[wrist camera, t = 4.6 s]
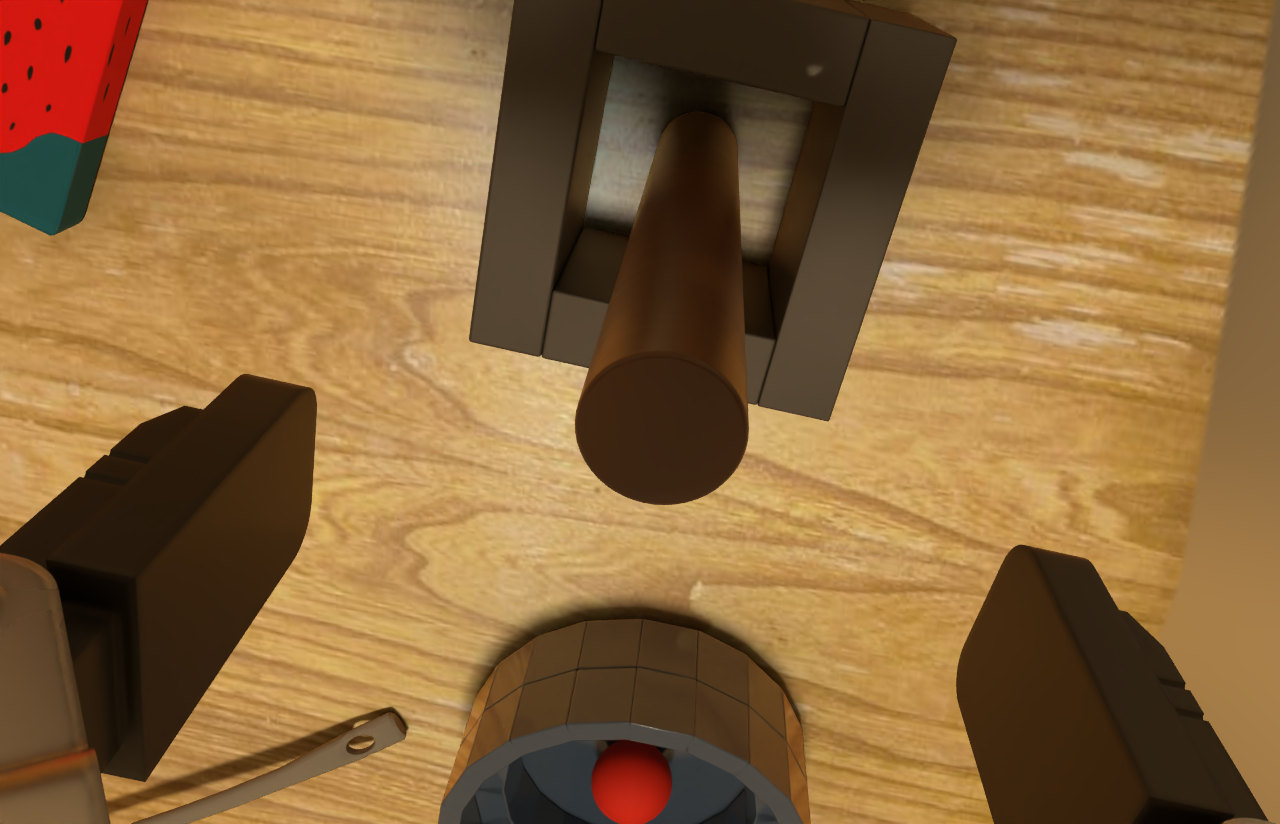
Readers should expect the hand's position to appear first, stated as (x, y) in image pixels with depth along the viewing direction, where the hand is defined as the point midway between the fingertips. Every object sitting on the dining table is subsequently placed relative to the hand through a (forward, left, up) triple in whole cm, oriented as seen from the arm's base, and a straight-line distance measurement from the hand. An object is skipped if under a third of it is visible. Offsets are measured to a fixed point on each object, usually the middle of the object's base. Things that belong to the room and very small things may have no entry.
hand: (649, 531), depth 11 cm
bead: (-3, +24, -18) cm, 30 cm away
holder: (0, 0, -21) cm, 21 cm away
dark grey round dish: (-3, +24, -21) cm, 32 cm away
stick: (0, 0, -21) cm, 21 cm away
